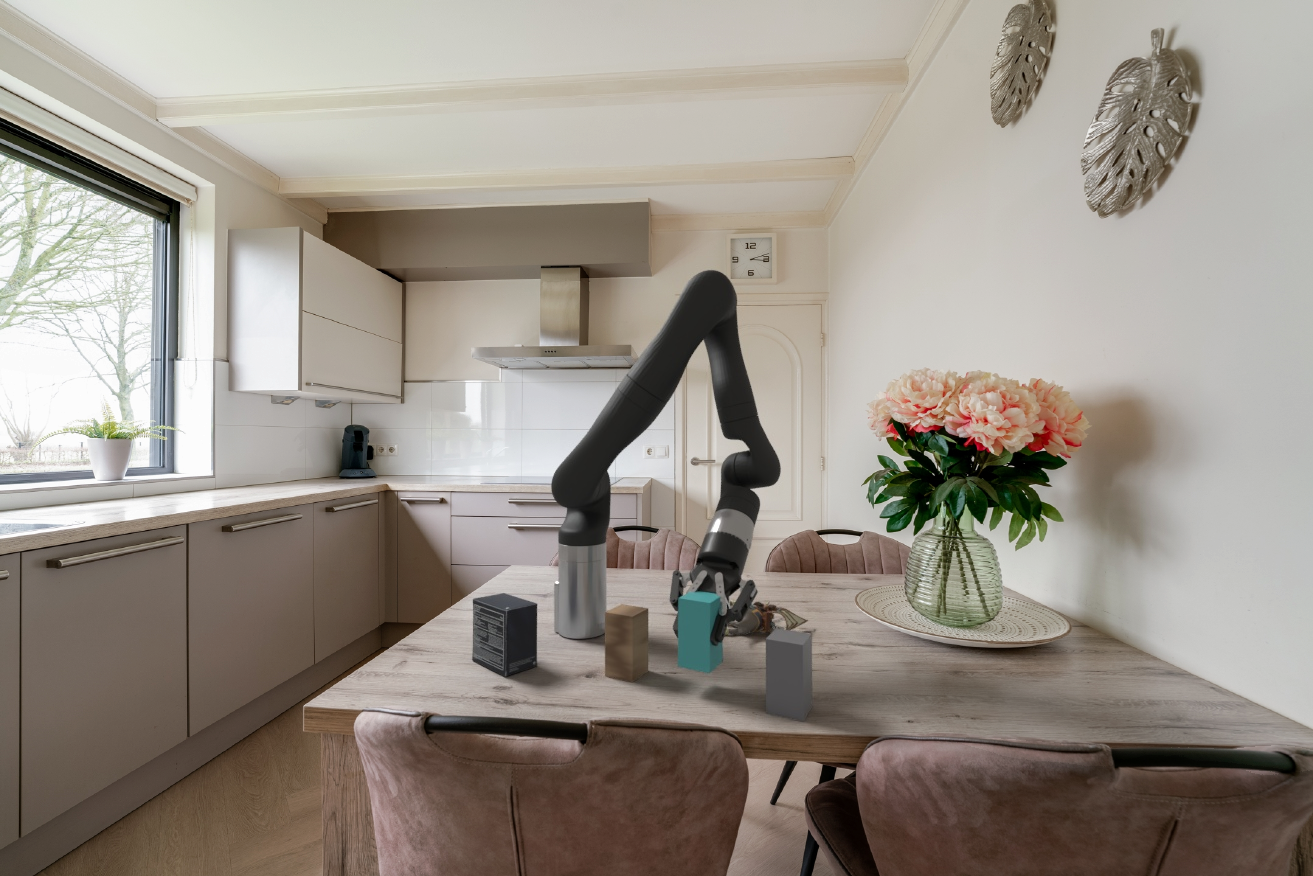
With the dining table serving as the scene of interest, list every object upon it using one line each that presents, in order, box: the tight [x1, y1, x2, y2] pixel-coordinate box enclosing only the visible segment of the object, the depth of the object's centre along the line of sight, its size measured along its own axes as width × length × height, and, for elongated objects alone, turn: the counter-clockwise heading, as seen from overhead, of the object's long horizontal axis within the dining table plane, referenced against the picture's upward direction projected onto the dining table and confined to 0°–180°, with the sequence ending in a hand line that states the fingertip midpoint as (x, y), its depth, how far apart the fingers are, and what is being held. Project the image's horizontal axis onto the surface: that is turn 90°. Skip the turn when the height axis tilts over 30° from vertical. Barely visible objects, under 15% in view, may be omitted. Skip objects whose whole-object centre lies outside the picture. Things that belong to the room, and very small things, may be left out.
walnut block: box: [604, 603, 649, 683], centre depth 90 cm, size 5×5×10 cm
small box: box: [471, 592, 538, 678], centre depth 95 cm, size 11×6×10 cm, turn 47°
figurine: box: [725, 599, 809, 636], centre depth 111 cm, size 20×6×17 cm
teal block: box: [677, 591, 724, 674], centre depth 84 cm, size 5×5×10 cm
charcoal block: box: [765, 627, 813, 722], centre depth 78 cm, size 5×5×10 cm
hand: (695, 639), depth 83 cm, fingers closed on teal block, 5 cm apart
